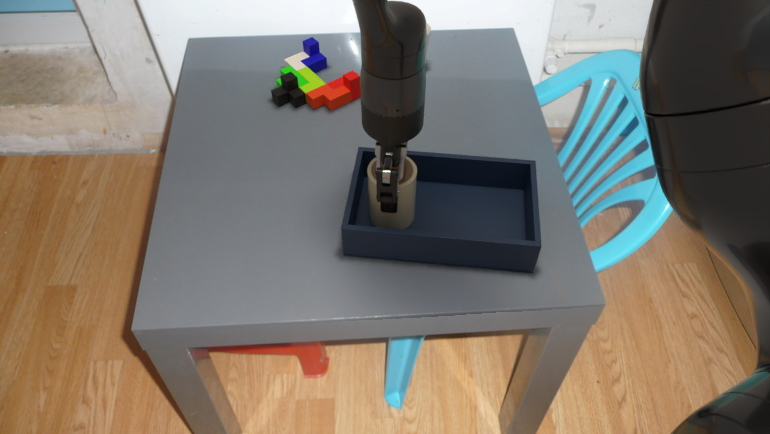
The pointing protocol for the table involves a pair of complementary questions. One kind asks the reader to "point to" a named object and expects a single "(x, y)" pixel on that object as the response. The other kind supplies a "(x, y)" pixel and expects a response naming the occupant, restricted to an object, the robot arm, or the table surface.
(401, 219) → the cup
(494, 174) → the navy tray
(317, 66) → the building blocks
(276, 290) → the table surface
